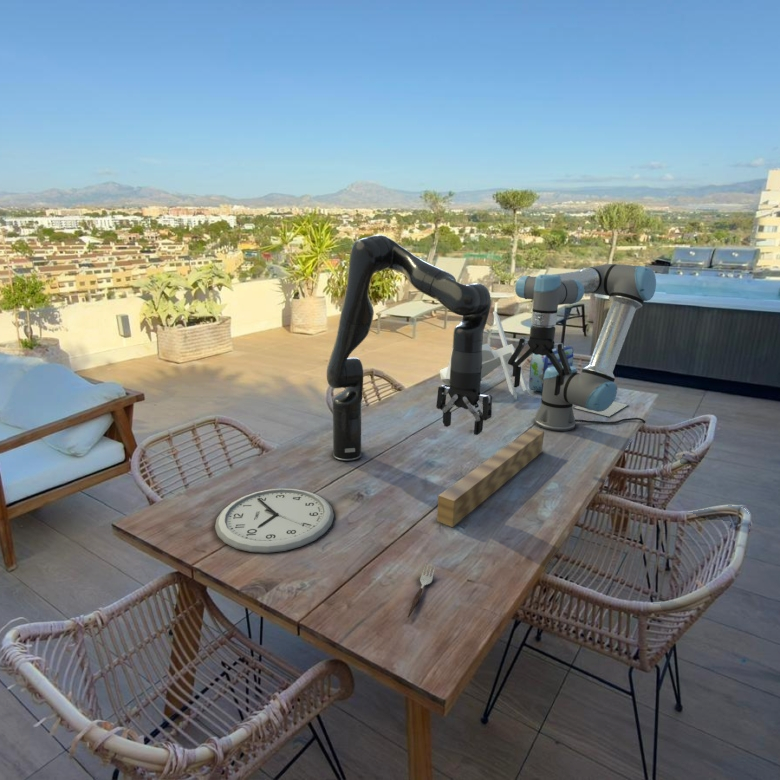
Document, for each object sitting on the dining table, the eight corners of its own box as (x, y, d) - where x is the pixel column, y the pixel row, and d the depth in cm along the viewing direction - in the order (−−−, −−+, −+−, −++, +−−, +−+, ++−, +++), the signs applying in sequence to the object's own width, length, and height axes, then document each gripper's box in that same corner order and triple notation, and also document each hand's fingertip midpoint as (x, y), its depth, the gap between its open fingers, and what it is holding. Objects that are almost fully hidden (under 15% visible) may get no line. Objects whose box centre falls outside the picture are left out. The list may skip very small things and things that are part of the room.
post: (528, 448, 182) (530, 428, 180) (541, 451, 179) (544, 431, 177) (436, 521, 136) (438, 495, 134) (452, 527, 133) (454, 501, 131)
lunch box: (545, 397, 238) (550, 352, 231) (524, 391, 245) (529, 348, 239) (572, 386, 255) (578, 344, 249) (552, 381, 262) (557, 340, 256)
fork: (401, 617, 102) (401, 609, 101) (424, 570, 116) (425, 562, 116) (414, 621, 101) (414, 612, 100) (436, 572, 115) (436, 565, 115)
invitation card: (608, 416, 214) (573, 407, 224) (608, 416, 214) (573, 408, 224) (628, 404, 229) (594, 396, 238) (628, 405, 229) (594, 397, 238)
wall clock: (332, 544, 122) (200, 548, 120) (332, 550, 123) (201, 555, 120) (334, 484, 151) (228, 486, 148) (334, 489, 151) (228, 491, 149)
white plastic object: (461, 429, 252) (437, 405, 227) (444, 352, 274) (420, 323, 250) (535, 404, 240) (518, 377, 215) (510, 326, 262) (492, 293, 237)
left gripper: (432, 365, 128) (430, 427, 133) (485, 376, 120) (480, 441, 125) (448, 360, 134) (445, 419, 139) (499, 369, 126) (494, 432, 130)
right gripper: (501, 322, 167) (496, 385, 174) (579, 332, 153) (570, 401, 159) (511, 319, 173) (505, 380, 179) (587, 328, 159) (578, 395, 165)
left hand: (462, 429), depth 132 cm, fingers open, 8 cm apart
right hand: (536, 390), depth 169 cm, fingers open, 13 cm apart
